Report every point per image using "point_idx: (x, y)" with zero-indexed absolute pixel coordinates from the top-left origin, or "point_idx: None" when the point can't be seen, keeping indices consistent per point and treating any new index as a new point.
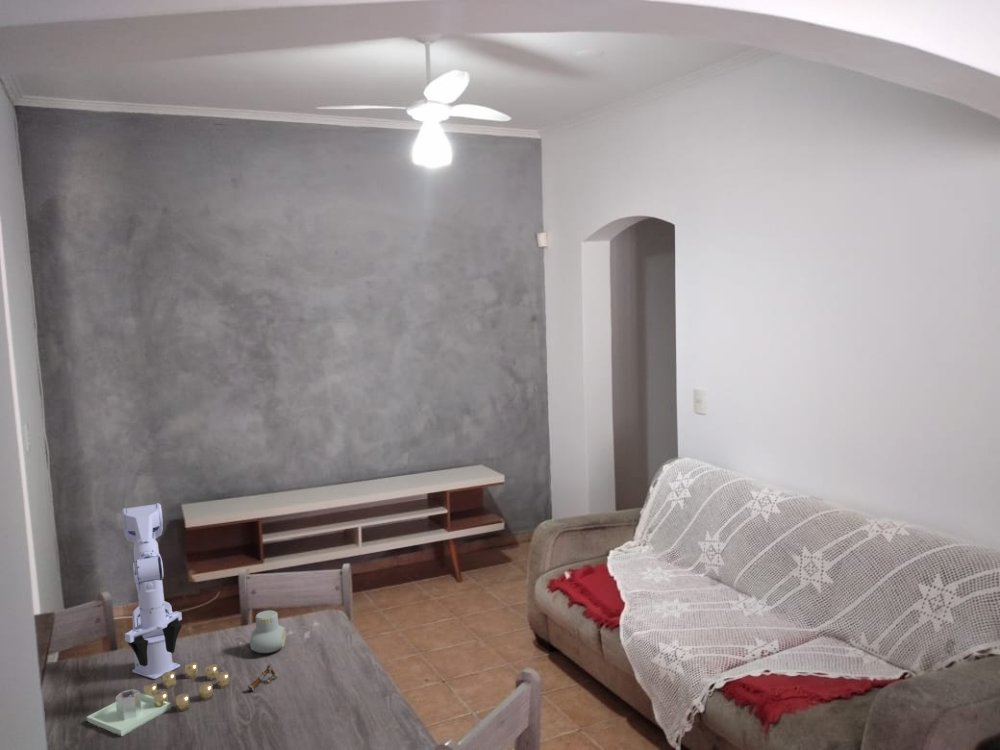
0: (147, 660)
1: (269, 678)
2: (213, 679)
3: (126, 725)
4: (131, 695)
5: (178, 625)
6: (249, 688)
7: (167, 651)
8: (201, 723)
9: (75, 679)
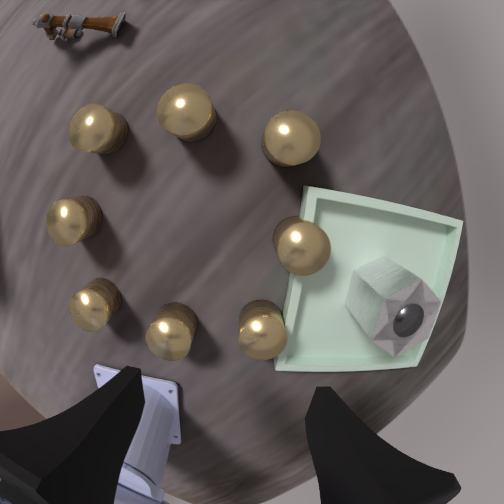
0: (328, 402)
1: (66, 30)
2: (92, 199)
3: (422, 245)
4: (414, 300)
5: (1, 466)
6: (115, 35)
7: (144, 400)
8: (333, 31)
9: (253, 486)
